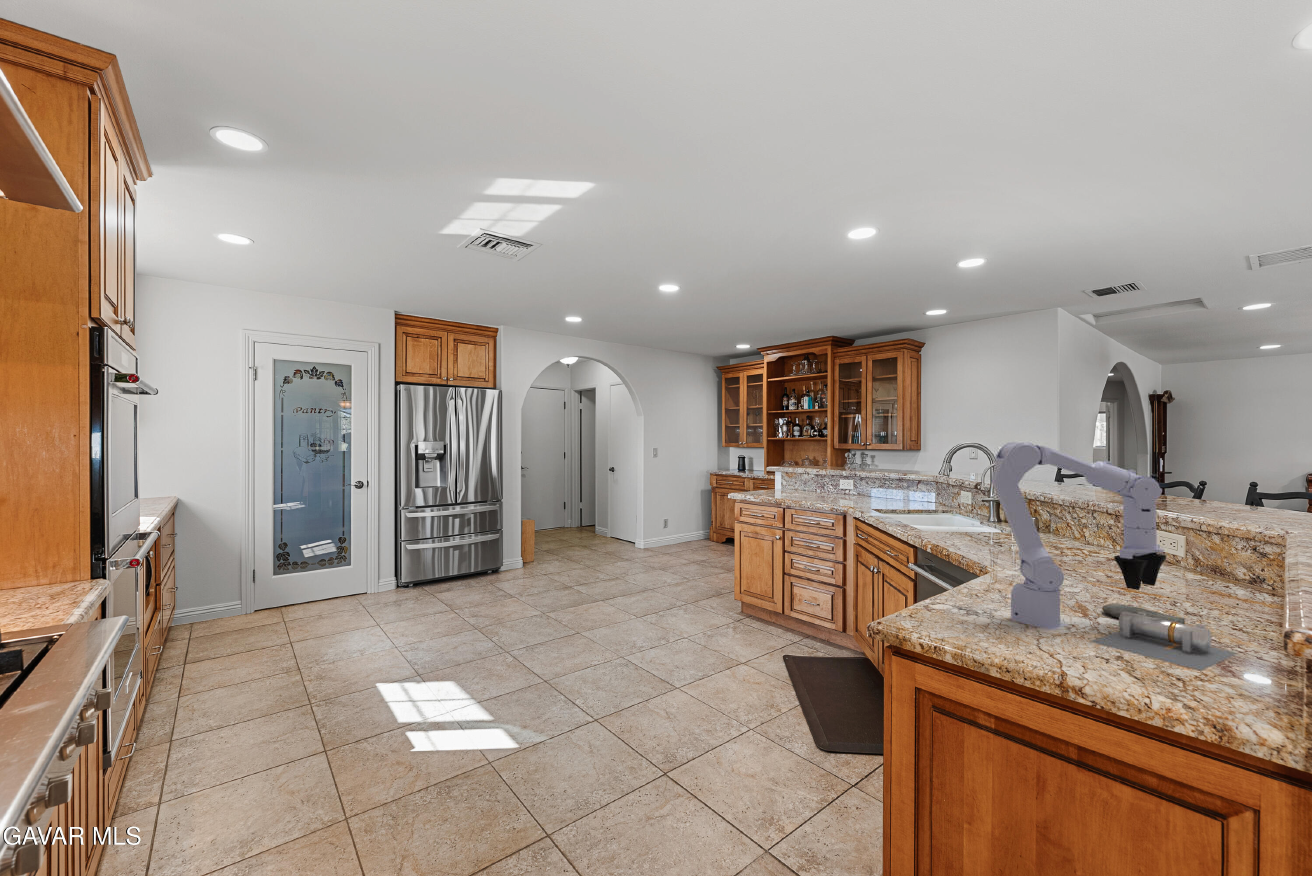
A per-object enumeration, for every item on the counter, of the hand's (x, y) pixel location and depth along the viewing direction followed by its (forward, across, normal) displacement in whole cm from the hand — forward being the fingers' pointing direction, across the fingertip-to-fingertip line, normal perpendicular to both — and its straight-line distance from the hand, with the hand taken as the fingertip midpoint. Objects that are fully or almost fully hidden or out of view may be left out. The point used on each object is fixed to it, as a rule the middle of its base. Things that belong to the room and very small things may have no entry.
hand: (1140, 586), depth 127 cm
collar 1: (+10, -6, -1) cm, 12 cm away
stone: (+11, +10, +4) cm, 15 cm away
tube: (+9, -6, -6) cm, 13 cm away
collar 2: (+10, -6, -11) cm, 16 cm away
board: (+10, -10, -7) cm, 16 cm away
